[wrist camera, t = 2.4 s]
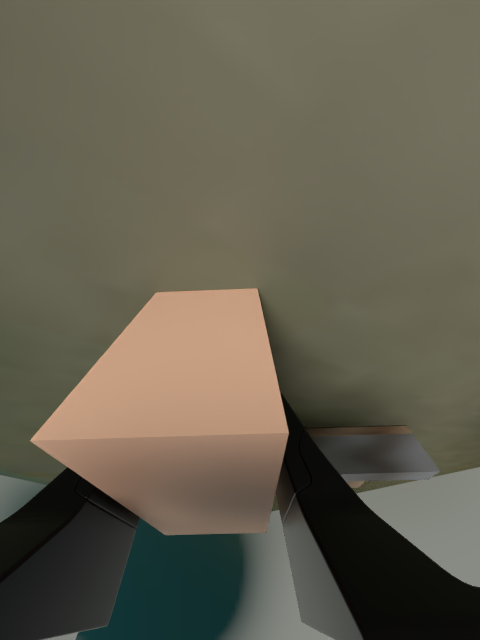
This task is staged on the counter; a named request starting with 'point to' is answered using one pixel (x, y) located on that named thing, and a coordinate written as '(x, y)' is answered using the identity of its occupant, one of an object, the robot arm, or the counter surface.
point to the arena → (374, 453)
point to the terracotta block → (181, 416)
